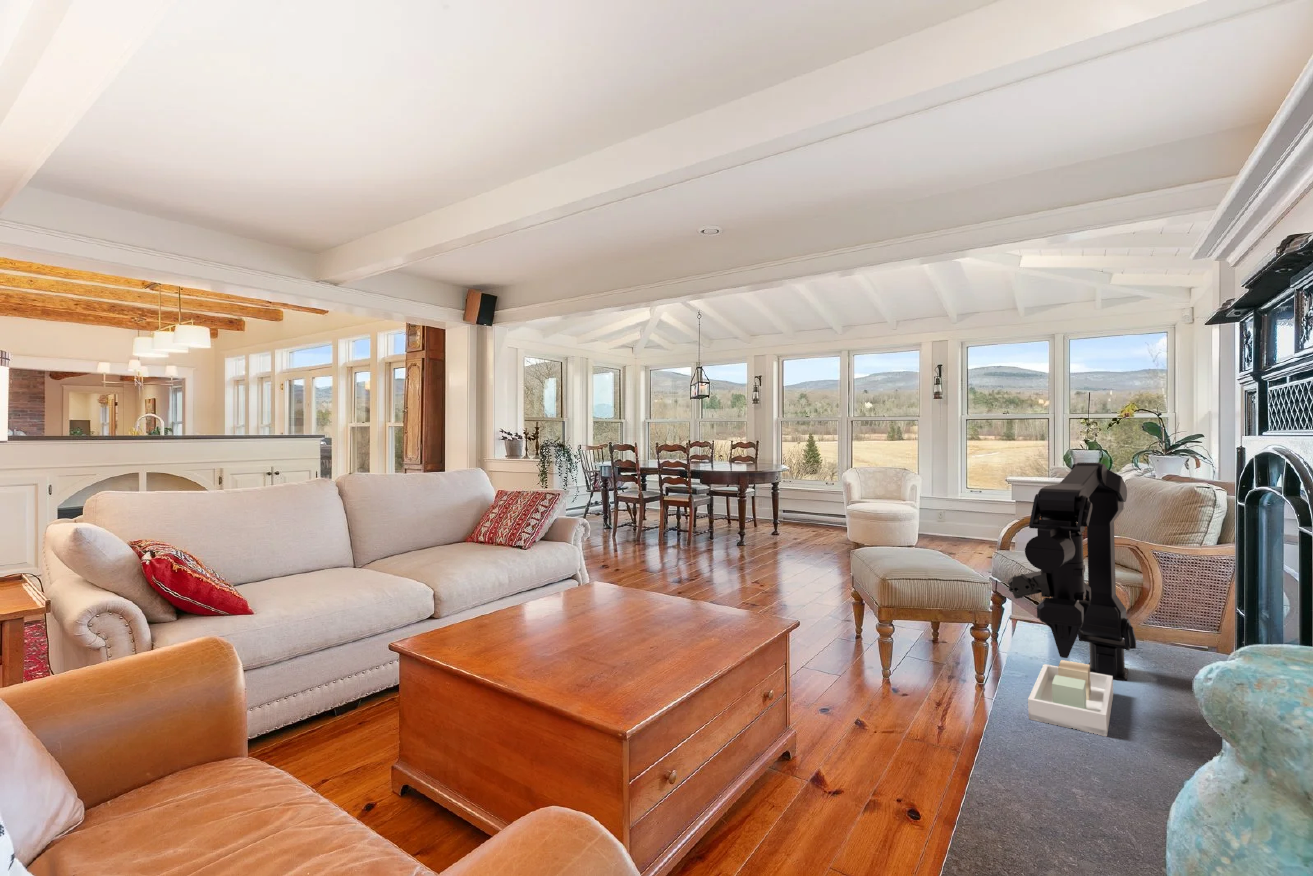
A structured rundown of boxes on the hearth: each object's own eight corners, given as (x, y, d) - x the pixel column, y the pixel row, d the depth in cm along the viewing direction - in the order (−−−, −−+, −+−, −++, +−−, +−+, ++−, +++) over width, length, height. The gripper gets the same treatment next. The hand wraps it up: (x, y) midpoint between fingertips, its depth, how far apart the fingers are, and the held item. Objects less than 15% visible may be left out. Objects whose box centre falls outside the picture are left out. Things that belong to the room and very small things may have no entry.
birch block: (1062, 685, 117) (1061, 659, 117) (1090, 691, 114) (1089, 664, 114) (1059, 694, 114) (1058, 667, 114) (1088, 700, 111) (1087, 672, 111)
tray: (1044, 681, 122) (1043, 664, 122) (1113, 694, 115) (1112, 676, 115) (1028, 719, 107) (1028, 699, 107) (1106, 736, 100) (1106, 715, 100)
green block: (1056, 702, 111) (1055, 675, 111) (1086, 708, 108) (1085, 680, 108) (1053, 712, 107) (1051, 683, 107) (1084, 718, 104) (1083, 689, 104)
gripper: (1019, 547, 120) (1023, 627, 120) (1000, 565, 105) (1004, 656, 105) (1089, 552, 112) (1093, 637, 113) (1079, 573, 98) (1083, 670, 98)
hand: (1067, 649), depth 107 cm, fingers open, 9 cm apart
